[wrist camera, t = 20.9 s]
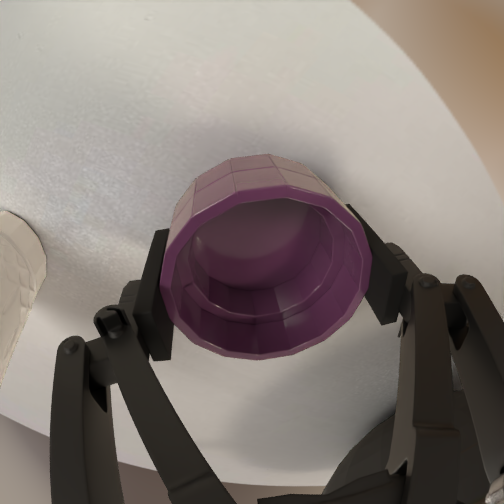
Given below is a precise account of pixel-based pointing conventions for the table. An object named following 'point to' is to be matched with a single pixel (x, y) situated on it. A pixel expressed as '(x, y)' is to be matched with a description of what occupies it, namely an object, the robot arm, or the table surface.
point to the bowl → (379, 445)
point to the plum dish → (262, 260)
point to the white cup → (17, 281)
